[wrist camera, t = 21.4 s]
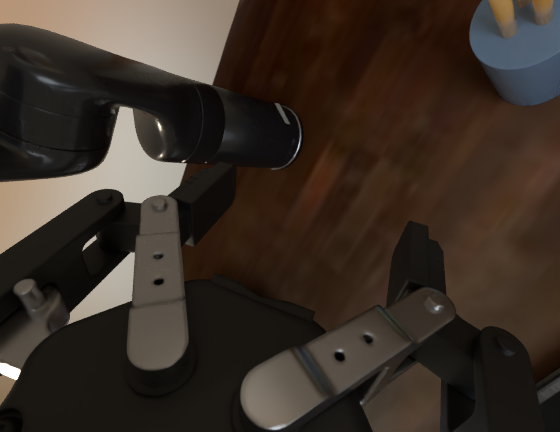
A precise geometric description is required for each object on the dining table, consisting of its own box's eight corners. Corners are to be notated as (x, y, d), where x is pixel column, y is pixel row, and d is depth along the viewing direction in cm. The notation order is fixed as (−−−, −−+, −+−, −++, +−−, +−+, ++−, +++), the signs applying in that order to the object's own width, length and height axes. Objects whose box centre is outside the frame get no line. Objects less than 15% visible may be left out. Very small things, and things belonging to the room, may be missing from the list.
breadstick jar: (479, 87, 31) (416, 4, 17) (528, 24, 28) (503, -140, 14) (539, 117, 28) (525, 48, 14) (601, 50, 26) (660, -120, 11)
